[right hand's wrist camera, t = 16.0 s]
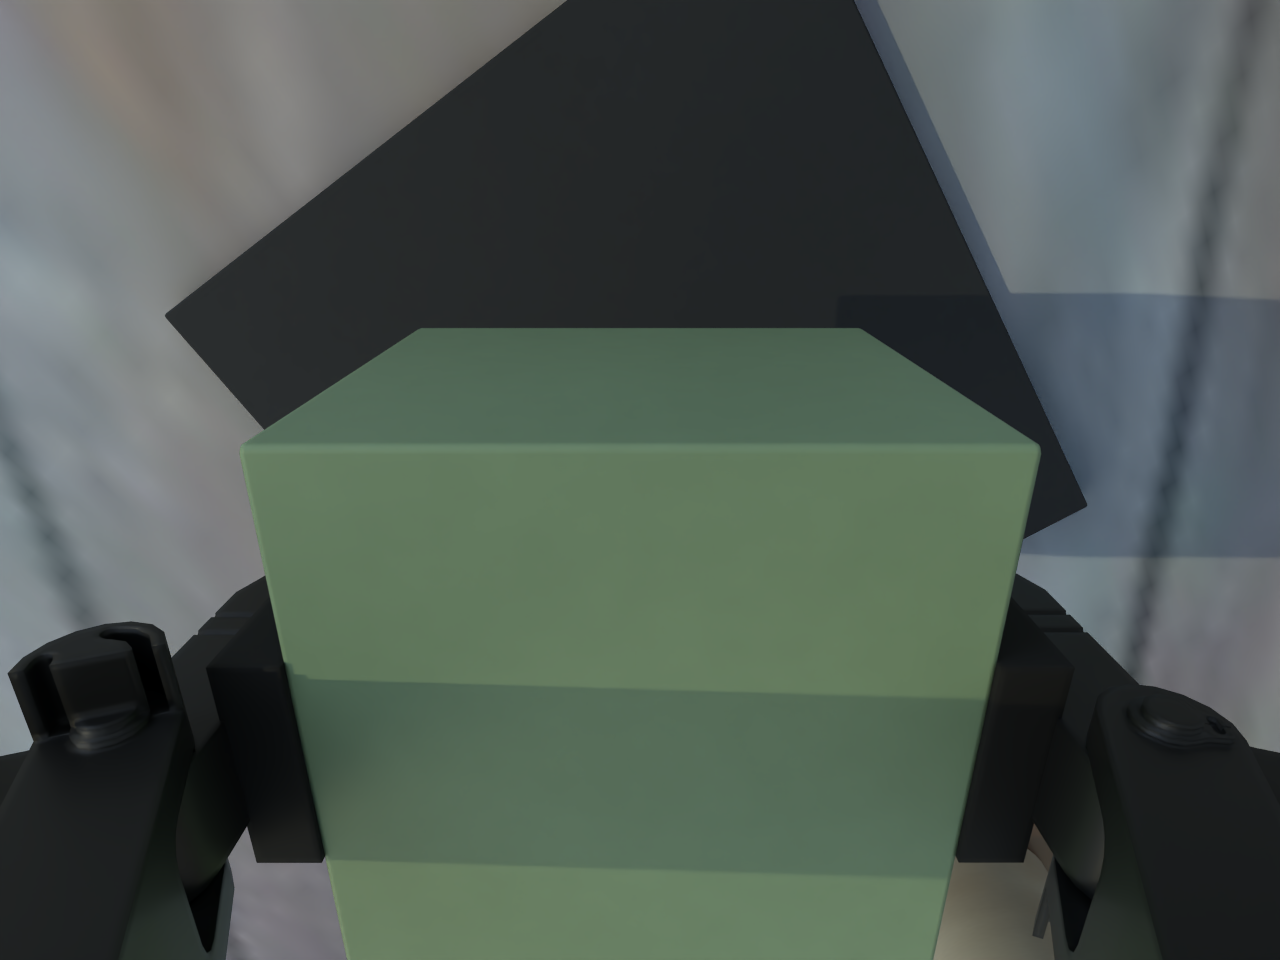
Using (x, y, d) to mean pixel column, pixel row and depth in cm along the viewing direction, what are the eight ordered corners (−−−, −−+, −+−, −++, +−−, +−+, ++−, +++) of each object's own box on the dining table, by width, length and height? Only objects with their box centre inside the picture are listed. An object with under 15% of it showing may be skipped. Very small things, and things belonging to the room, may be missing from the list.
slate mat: (773, -154, 16) (778, -166, 15) (1077, 497, 21) (1089, 506, 21) (176, 311, 20) (162, 315, 19) (567, 761, 25) (566, 774, 25)
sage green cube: (862, 327, 12) (1047, 445, 7) (822, 693, 15) (929, 991, 9) (417, 327, 12) (232, 445, 7) (457, 693, 15) (351, 992, 9)
